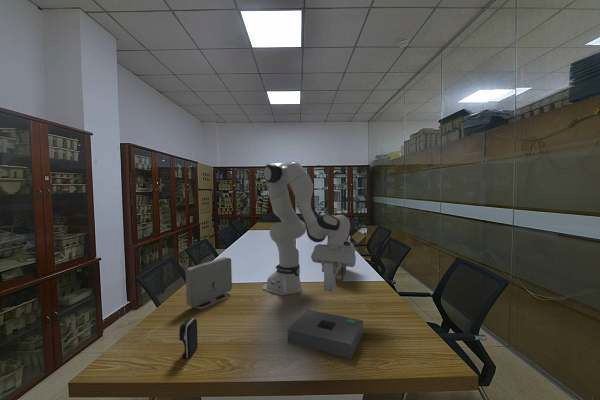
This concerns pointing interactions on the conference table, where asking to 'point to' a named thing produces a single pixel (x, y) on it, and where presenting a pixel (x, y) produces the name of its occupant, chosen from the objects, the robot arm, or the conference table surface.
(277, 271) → the robot arm
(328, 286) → the peg
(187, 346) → the battery charger
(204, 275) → the network device
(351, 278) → the conference table surface
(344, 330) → the docking mount
